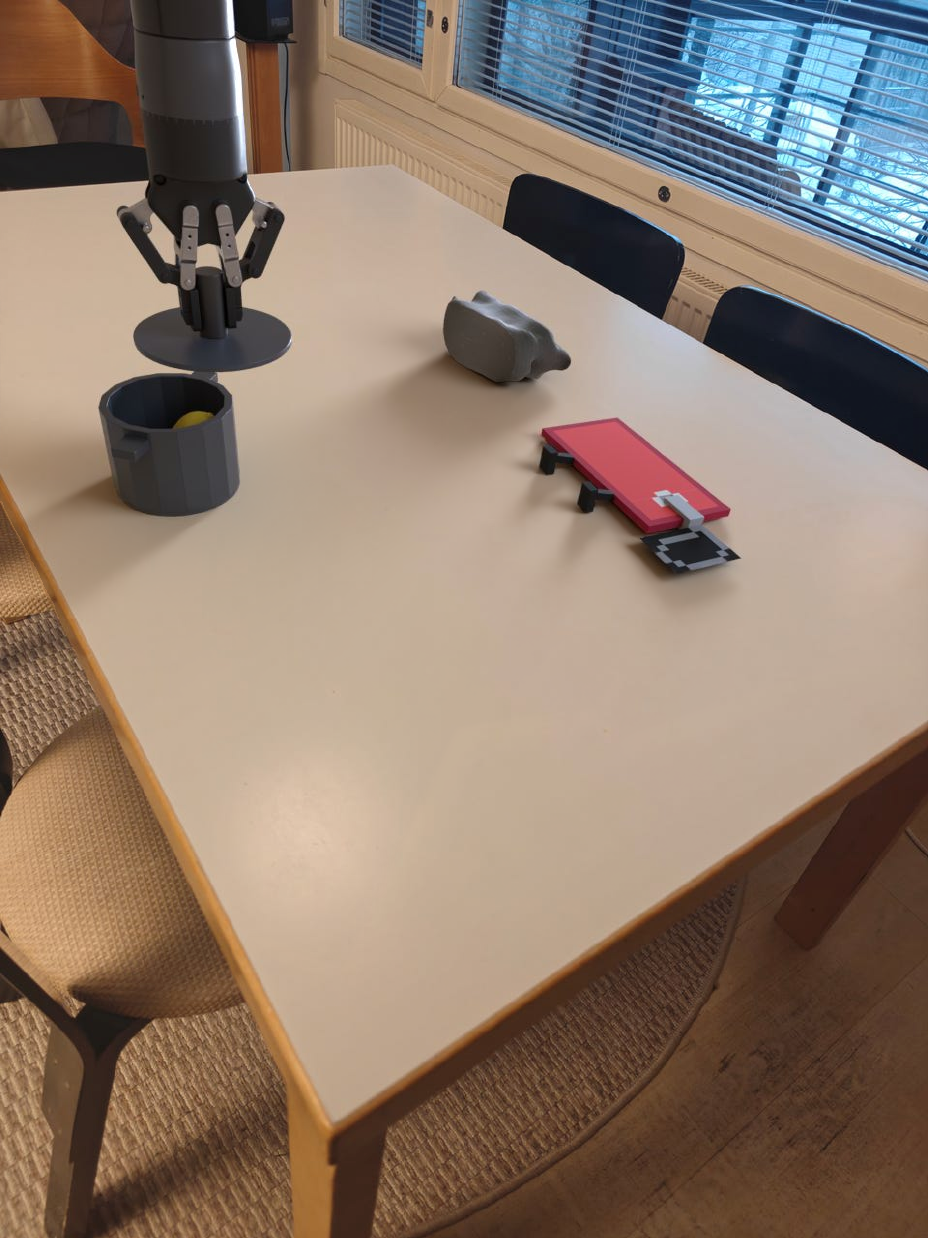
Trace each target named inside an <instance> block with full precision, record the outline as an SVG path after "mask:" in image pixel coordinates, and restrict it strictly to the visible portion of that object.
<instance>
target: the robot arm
mask: <svg viewBox="0 0 928 1238" xmlns="http://www.w3.org/2000/svg"><path fill="white" fill-rule="evenodd" d="M129 1H130V9H131V16H132V17H131V18H132V24H133V28H134V29H133V35H134V67H135V68H134V69H135V77H136V84H135V87H136V90H135V91H136V95H137V97H138V101H139V107H140V115H141V123H142V131H143V138H144V139H143V140H144V144H145V145H144V146H145V154H146V161H147V168H148V183H147V185H146V187H145V191H144V198H142V199H141V200H140V201H137V202H135V203H133V204H132V205H130V206H127V205H120V206H119V207H117V209H116V217H117V218H118V220H119V222H120V224H121V226H122V228H123V229H124V231H125V233H126V234H127V235H128V237H129V239H130V240H131V242H132V244H133V245H134V246H135V247H136V249H137V250H138V252H139V254H141V256H142V258H143V259H144V261H145V262H146V264H147V265H148V267H149V268H150V270H151V272H152V273H153V274H154V276H155V277H156V279H157V280H158V282H159V283H161V284H163V285H167V284H170V285H174V286H176V289H177V295H178V296H177V297H178V305H179V307H180V314H181V316H182V317H183V319H184V321H185V323H186V325H190V326H191V328H192V330H193V332H196V331H202V324H201V314H200V304H199V295H198V290H197V288H196V286H195V273H196V268H197V267H196V266H197V262H198V248H199V247H202V246H204V245H212V246H215V249H216V252H217V257H218V261H219V266H220V269H221V270H222V272H223V282H224V295H225V306H226V318H227V328H228V329H233V328H237V323H236V322H237V321H241V320H242V317H243V310H242V307H243V298H242V286H243V283H244V282H246V281H247V280H251V279H257V280H258V279H259V278H261V277H262V275H263V274H264V273H263V272H264V270H265V267H266V266H267V263H268V261H269V259H270V256H271V254H272V251H273V249H274V246H275V244H276V242H277V239H278V237H279V234H280V233H281V230H282V228H283V225H284V223H285V220H286V217H285V216H286V215H285V214H284V213H283V211H282V210H281V209H280V208H279V207H278V205H276V204H275V203H274V202H272V201H264V200H262V199H261V198H258V197H257V196H255V195H256V194H255V192H254V190H253V188H252V186H251V185H250V182H249V178H248V165H247V163H248V162H247V147H246V145H247V144H246V131H245V129H246V128H245V115H244V100H243V84H242V71H241V64H240V58H239V54H238V48H237V41H236V36H235V35H236V32H235V31H236V30H235V15H234V0H129ZM251 212H252V215H251V221H252V223H253V225H254V228H253V231H252V232H251V236H250V238H249V241H248V243H247V245H246V248H245V250H244V253H243V254H242V257H241V259H240V254H239V250H238V244H237V239H236V237H237V235H238V233H239V231H240V230H241V228H242V227H243V225H244V223H245V222H246V220H247V218H248V216H249V215H250V213H251ZM153 214H155V216H156V217H157V218H158V219H159V221H160V222H161V223H162V224H163V225H164V227H166V229H167V230H168V232H170V233H171V234H172V236H173V250H174V251H173V252H174V264H172V263H169V262H166V261H165V259H164V258H163V257H162V255H161V254H160V252H159V251H158V249H157V247H156V246H155V244H154V242H153V241H152V239H151V238H150V237H149V234H150V233H151V232H152V231H153V224H152V221H151V216H152V215H153Z"/></svg>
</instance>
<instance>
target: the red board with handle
mask: <svg viewBox="0 0 928 1238" xmlns="http://www.w3.org/2000/svg"><path fill="white" fill-rule="evenodd" d="M540 436H541V437H542V438H544V440H546V442H548V443H549V444H544V445H542V449H541V455H540V460H539V466H538V467H539V469H540V470H541V471H543V472H544V473H545V474H546V475H547V476H550V475H554V474H555V472H556V471H555V470H556V465H557V464H561V465H571V466H574V468H576V469H577V470H578V471H579V472H580V473H581V474H582V475H583V476H584V477H585V478H587V481H582V482H581V484H580V489H579V492H578V497H577V503H576V504H577V506H578V507H579V508H580V509H581V510H582V511H583V512H584V513H585V514H589V513H593V512H594V510H595V506H596V501H597V502H607V503H613V504H614V505H615V506H616V507H618V508H619V509H620V511H622V513H624V514H625V515H626V516H627V517H628V518H629V519H630V520H632V522H634V523H635V525H637V526H638V527H639V528H640V529H641V530H642V531H644V533H645V534H646V535H647V534H648V535H647V536H642V537H638V539H639V540H640V541H641V542H642V543H643V544H644V545H645V546H646V547H647V548H649V549H650V551H652V552H653V553H654V554H655V555H656V556H657V557H658V558H659V559H660V560H661V561H662V562H663V563H664V564H666V565H667V567H669V568H670V569H671V570H672V571H673V572H674V573H675V574H676V575H678V574H682V573H687V572H691V571H695V570H699V569H704V568H707V567H711V566H715V565H721V564H724V563H729V562H732V561H736V560H740V559H742V557H741V556H739V554H737V552H735V550H733V549H731V548H730V547H729V546H728V545H727V544H726V543H724V542H723V541H722V540H721V539H720V538H718V536H716V535H715V534H714V533H712V532H711V530H709V529H708V528H707V527H706V526H704V525H703V522H708V521H713V520H718V519H722V518H727V517H729V515H730V513H731V510H732V509H731V508H730V507H729V506H728V505H726V504H725V503H724V502H723V501H722V500H720V499H719V498H718V497H716V496H715V495H714V494H713V493H712V492H710V491H709V490H708V489H706V488H705V487H704V486H703V485H701V483H699V482H698V481H697V480H696V479H694V478H693V477H692V476H691V475H689V474H688V473H687V472H686V471H684V470H683V469H682V468H681V467H679V466H678V465H677V464H676V463H674V462H673V461H672V460H671V459H670V458H668V457H667V456H666V455H664V454H663V453H662V452H661V451H660V450H658V449H657V448H656V447H655V446H653V445H652V444H651V443H650V442H649V441H647V440H646V439H645V438H643V437H642V436H641V435H640V434H639V433H637V432H636V431H635V430H634V429H633V428H631V427H630V426H629V425H627V424H626V423H625V422H624V421H623V420H621V419H620V418H619V417H611V418H603V419H597V420H591V421H584V422H583V421H582V422H576V423H569V424H562V425H556V426H549V427H542V430H541V434H540ZM677 528H678V529H677ZM672 529H674V530H672ZM666 530H668V531H666ZM669 530H670V531H669ZM662 531H666V532H662ZM657 532H660V533H657ZM652 533H654V534H652ZM655 533H656V534H655ZM649 534H650V535H649Z"/></svg>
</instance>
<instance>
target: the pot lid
mask: <svg viewBox="0 0 928 1238" xmlns="http://www.w3.org/2000/svg"><path fill="white" fill-rule="evenodd" d="M195 286H196V288H197V290H198V295H199V304H200V314H201V324H202V331H196V332H193V330H192V328H191V326H190V325H186V323H185V321H184V319H183V317H182V316H181V314H180V306H178V307H173V308H168V309H164V310H161V311H159V312H156V313H154V314H151V315H149V316H148V317H145V318H144V319H143V320H141V321H140V322H139V323H138V324H137V326H135V328H134V330H133V333H132V338H133V344H134V346H135V348H136V350H137V351H138V352H139V353H140V354H141V355H142V356H144V357H145V358H147V359H148V360H150V361H152V362H154V363H157V364H159V365H161V366H166V367H168V368H172V369H176V370H181V371H188V372H194V371H195V372H215V373H231V372H232V373H233V372H240V371H246V370H251V369H255V368H260V367H262V366H265V365H269V364H271V363H273V362H275V361H277V360H279V359H280V358H282V357H283V356H285V354H287V353H288V351H289V350H290V348H291V346H292V343H293V336H292V335H293V334H292V331H291V330H290V328H289V326H288V325H287V324H286V323H285V322H283V321H282V320H281V319H279V318H278V317H276V316H274V315H272V314H271V313H270V314H269V313H267V312H264V311H261V310H257V309H255V308H250V307H246V306H245V307H244V306H242V310H243V317H242V320H241V321H237V322H236V323H237V328H233V329H228V328H227V318H226V306H225V295H224V282H223V272H222V270H221V268H219V267H217V266H212V265H210V266H209V265H204V266H203V265H202V266H198V267H196V273H195Z"/></svg>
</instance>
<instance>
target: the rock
mask: <svg viewBox="0 0 928 1238" xmlns="http://www.w3.org/2000/svg"><path fill="white" fill-rule="evenodd" d="M442 324H443V325H442V334H443V339H444V344H445V347H446V349H447V351H448V353H449V354H450V356H451V357H452V359H453V360H454V361H456V362H457V363H458V364H459V365H461V366H463V367H464V368H466V369H469V370H471V371H473V372H476V373H478V374H480V375H483V376H484V377H486V378H488V379H490V380H491V381H493V382H495V383H501V382H507V381H508V382H509V381H510V382H511V381H514V382H519V381H521V380H523V379H524V378H528V379H533V380H538V379H539V380H540V378H542V376H543V375H544V374H546V373H549V372H550V371H558V372H559V371H560V372H561V371H565V370H568V368H569V367H570V366H571V364H572V358H571V356H570V354H569V353H568V352H567V351H566V350H565V349H563V348H562V347H561V346H560V345H558V344H557V343H556V342H555V335H554V334H553V332H552V331H551V330H550V329H549V328H548V327H547V326H545V325H544V324H543V323H542V322H540V320H538V319H536V318H534V317H531V316H529V315H527V314H526V312H523V311H522V310H521V309H520V308H518V307H517V306H515V305H511V304H507V303H504V302H502V301H500V300H498V299H497V298H496V297H494V296H493V295H491V294H490V293H488V292H487V291H485V290H479V291H477V292H476V293H475V294H474V296H473V298H471V301H467V300H464V299H458V297H457V296H453V297H452V298H451V300H450V301H449V302H448V303H447V305H446V308H445V312H444V316H443V323H442Z"/></svg>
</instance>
